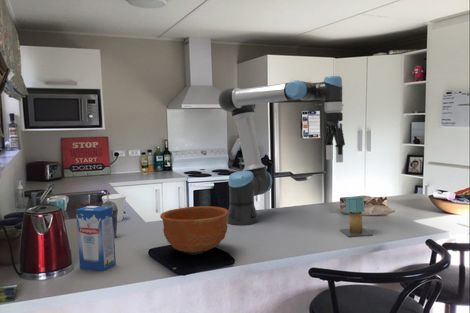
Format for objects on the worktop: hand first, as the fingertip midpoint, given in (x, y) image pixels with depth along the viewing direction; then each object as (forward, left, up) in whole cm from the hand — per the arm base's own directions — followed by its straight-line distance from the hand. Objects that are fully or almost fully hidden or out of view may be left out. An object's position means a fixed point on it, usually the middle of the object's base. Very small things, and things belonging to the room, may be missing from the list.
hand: (334, 160), depth 176 cm
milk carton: (-94, -36, -29) cm, 105 cm away
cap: (+4, -14, -20) cm, 25 cm away
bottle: (+4, -14, -29) cm, 32 cm away
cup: (-103, +32, -29) cm, 112 cm away
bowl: (-61, -27, -29) cm, 73 cm away
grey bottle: (-98, 0, -29) cm, 102 cm away
